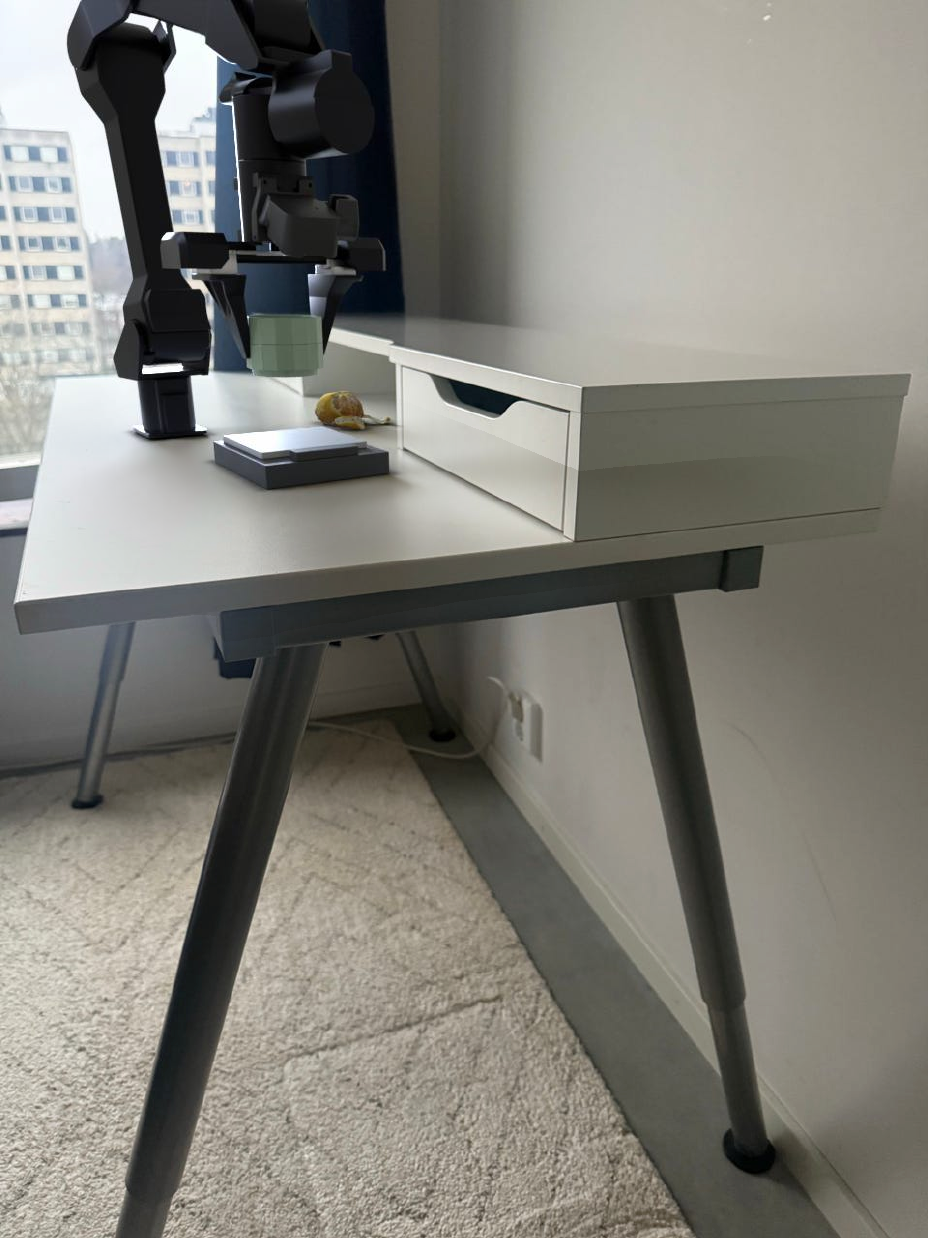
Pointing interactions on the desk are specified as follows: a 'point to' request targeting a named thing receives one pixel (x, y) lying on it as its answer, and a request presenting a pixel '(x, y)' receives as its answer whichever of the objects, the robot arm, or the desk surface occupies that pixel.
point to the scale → (299, 456)
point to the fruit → (343, 410)
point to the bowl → (285, 345)
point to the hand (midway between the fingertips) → (283, 356)
